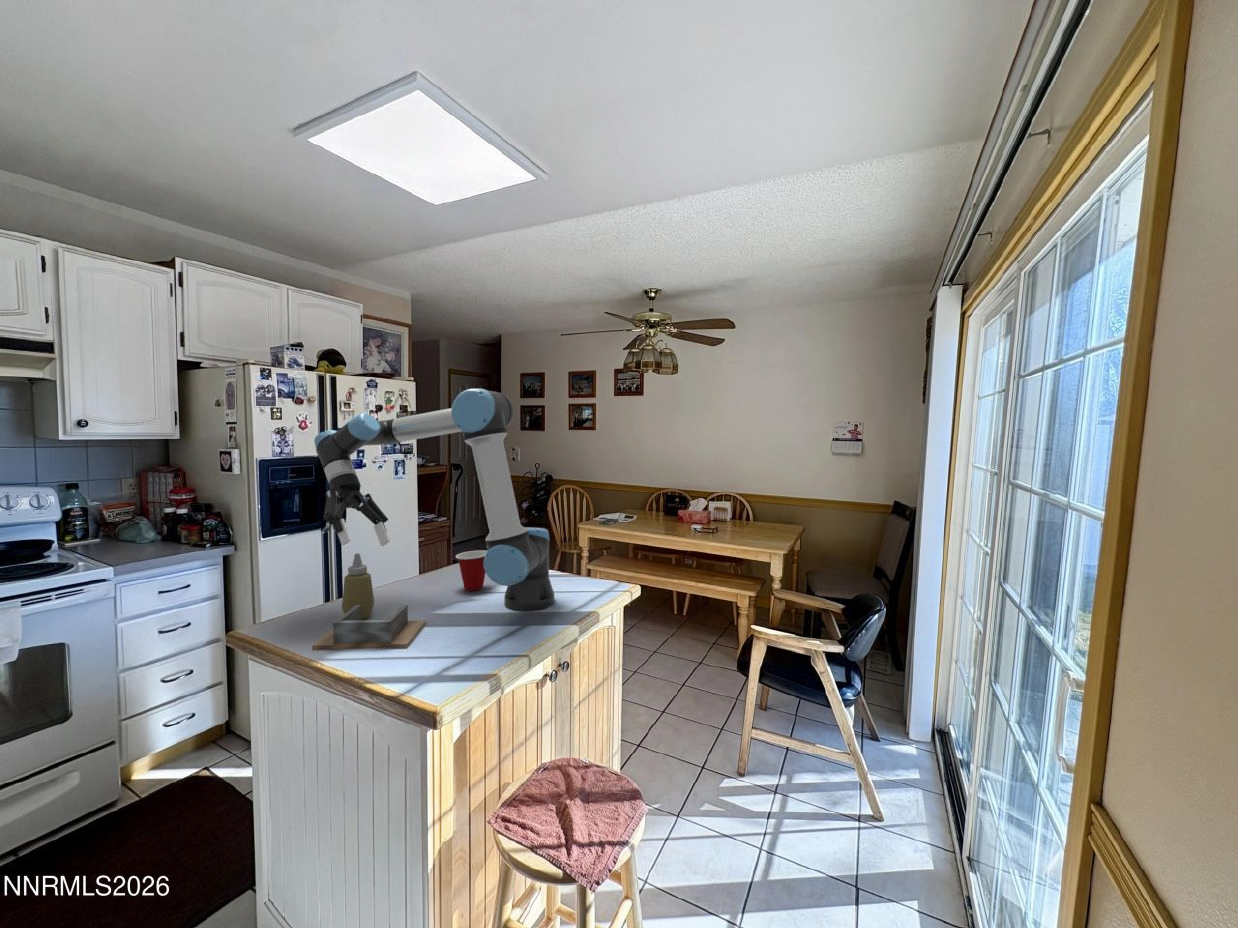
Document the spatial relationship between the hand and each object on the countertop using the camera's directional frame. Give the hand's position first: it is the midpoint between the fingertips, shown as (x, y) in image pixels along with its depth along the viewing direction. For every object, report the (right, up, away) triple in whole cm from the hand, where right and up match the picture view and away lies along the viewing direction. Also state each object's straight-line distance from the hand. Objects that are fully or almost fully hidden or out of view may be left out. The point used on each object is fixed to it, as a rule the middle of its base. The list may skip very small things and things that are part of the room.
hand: (366, 543), depth 140 cm
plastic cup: (+21, -20, +28) cm, 40 cm away
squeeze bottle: (-3, -21, +2) cm, 21 cm away
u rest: (+7, -22, -11) cm, 25 cm away
